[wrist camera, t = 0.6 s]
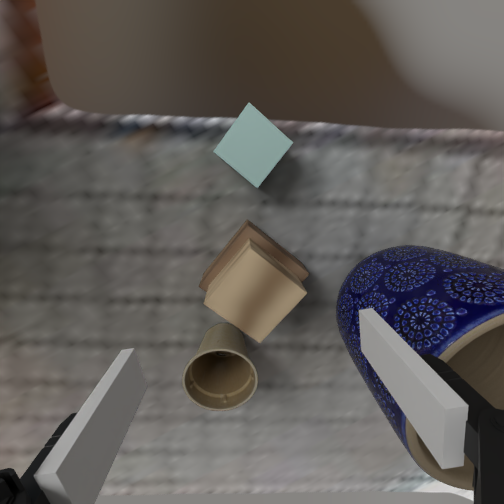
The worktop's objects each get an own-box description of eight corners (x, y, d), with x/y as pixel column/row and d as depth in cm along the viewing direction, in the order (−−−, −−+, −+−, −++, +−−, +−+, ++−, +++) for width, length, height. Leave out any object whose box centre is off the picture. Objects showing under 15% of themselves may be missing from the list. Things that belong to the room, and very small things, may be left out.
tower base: (204, 272, 38) (198, 286, 33) (247, 218, 36) (248, 225, 31) (257, 310, 40) (259, 328, 35) (300, 261, 38) (309, 274, 33)
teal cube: (218, 155, 33) (213, 151, 27) (247, 115, 32) (248, 102, 26) (254, 186, 34) (257, 188, 29) (284, 148, 33) (293, 142, 28)
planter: (450, 228, 37) (690, 288, 17) (434, 340, 42) (603, 484, 23) (322, 238, 37) (418, 311, 17) (321, 349, 42) (393, 504, 22)
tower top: (208, 285, 33) (203, 303, 28) (249, 237, 31) (250, 248, 27) (257, 320, 35) (259, 343, 30) (297, 276, 33) (307, 293, 28)
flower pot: (247, 306, 39) (248, 341, 31) (260, 358, 42) (265, 402, 34) (186, 320, 39) (172, 358, 31) (203, 370, 42) (194, 417, 34)
